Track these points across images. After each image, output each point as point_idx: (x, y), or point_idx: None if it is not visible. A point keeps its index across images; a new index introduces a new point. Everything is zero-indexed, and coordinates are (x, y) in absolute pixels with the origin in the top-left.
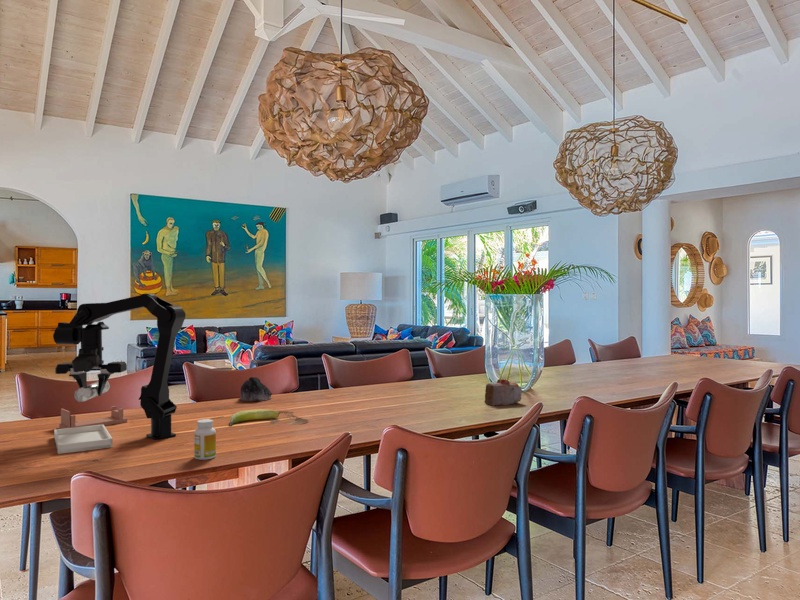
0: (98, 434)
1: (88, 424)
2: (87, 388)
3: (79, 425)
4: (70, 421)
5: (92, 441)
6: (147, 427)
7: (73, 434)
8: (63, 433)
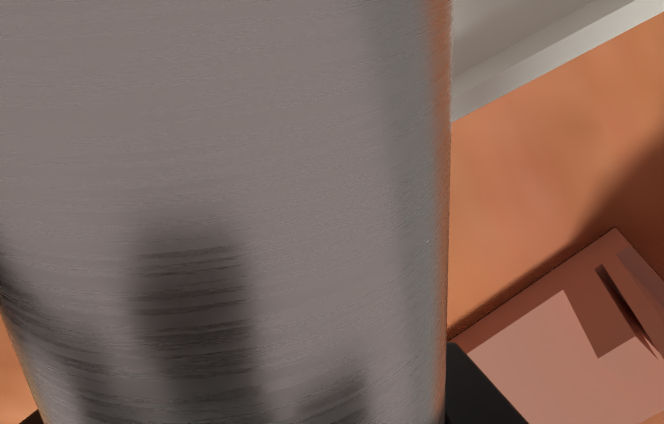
0: None
1: (472, 347)
2: None
3: (535, 313)
4: (623, 309)
5: None
6: (3, 333)
7: (467, 2)
8: (581, 12)
